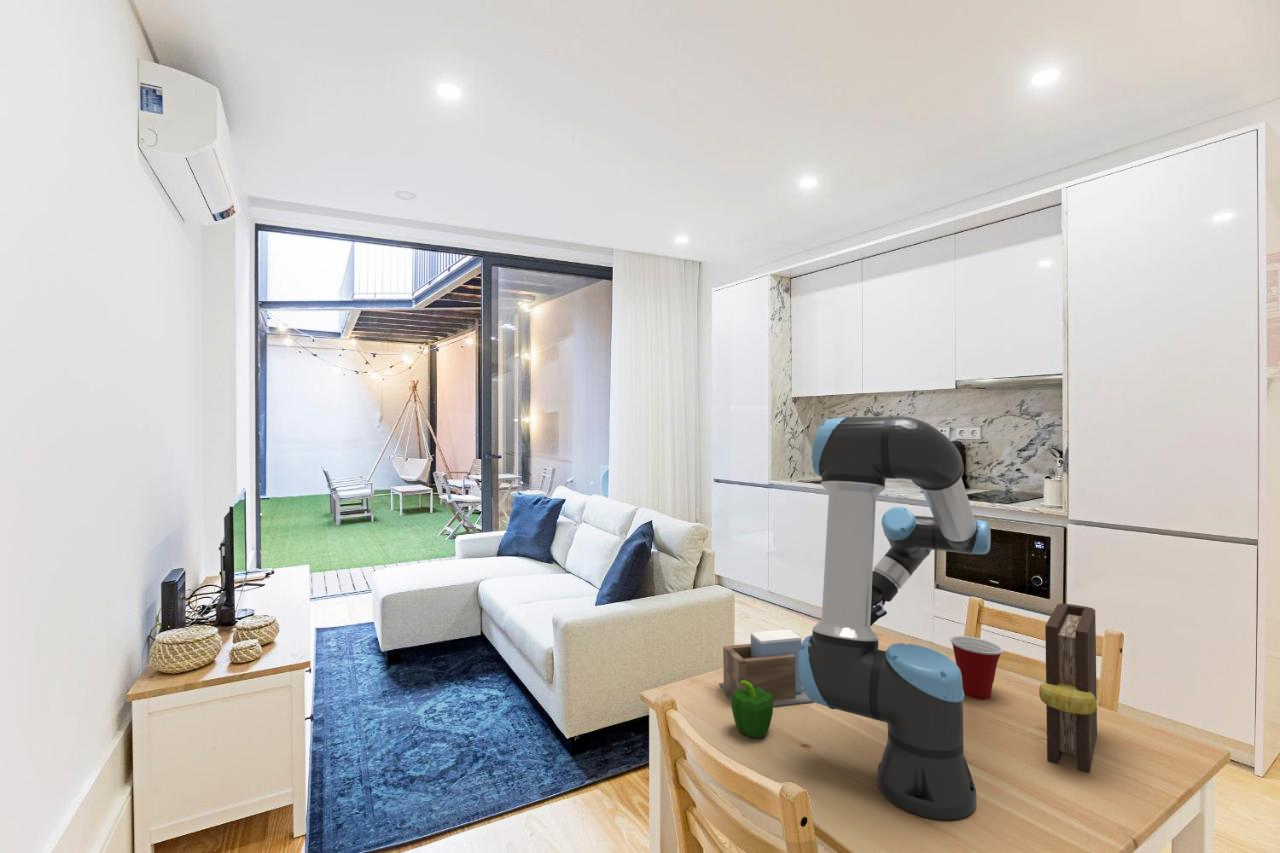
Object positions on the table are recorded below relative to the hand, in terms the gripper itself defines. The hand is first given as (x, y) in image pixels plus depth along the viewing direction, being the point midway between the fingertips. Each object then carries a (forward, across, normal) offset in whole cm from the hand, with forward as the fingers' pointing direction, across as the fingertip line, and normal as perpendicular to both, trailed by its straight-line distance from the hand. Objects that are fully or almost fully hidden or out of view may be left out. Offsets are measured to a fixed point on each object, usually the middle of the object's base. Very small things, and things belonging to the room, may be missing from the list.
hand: (825, 654), depth 145 cm
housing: (+16, 0, +5) cm, 16 cm away
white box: (+14, 0, +4) cm, 15 cm away
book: (-16, -37, -27) cm, 49 cm away
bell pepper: (+24, -16, +13) cm, 31 cm away
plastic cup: (-17, -12, -28) cm, 35 cm away
